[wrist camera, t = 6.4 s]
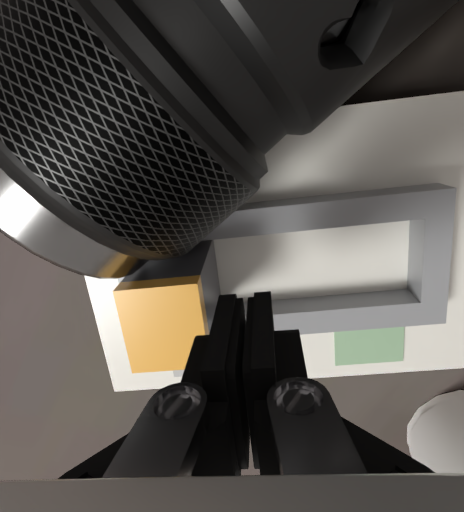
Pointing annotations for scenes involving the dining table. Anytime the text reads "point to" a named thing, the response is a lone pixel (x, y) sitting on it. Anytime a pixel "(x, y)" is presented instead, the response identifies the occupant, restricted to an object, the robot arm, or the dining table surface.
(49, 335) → the dining table surface
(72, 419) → the dining table surface
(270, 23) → the muzzle brake
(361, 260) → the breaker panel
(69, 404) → the dining table surface
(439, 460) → the foam cup
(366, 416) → the dining table surface
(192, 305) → the breaker lever
